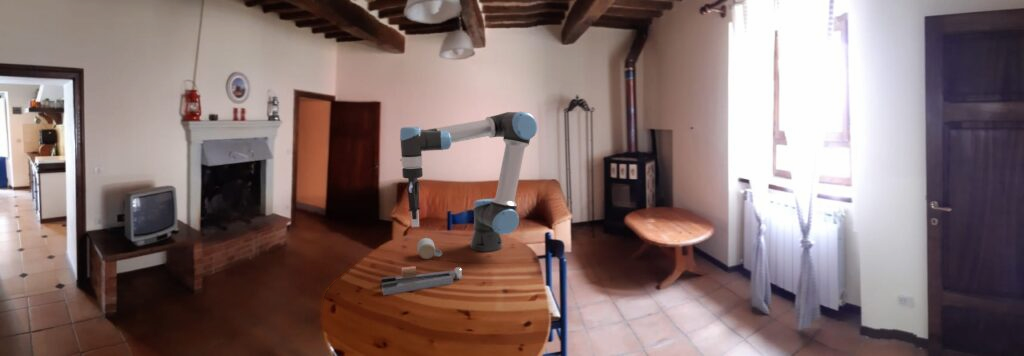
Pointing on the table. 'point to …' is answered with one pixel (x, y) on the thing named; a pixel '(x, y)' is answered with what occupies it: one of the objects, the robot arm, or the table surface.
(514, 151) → the robot arm
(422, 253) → the ceramic mug
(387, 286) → the tong fixed arm
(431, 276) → the tong arm
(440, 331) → the table surface
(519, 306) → the table surface
